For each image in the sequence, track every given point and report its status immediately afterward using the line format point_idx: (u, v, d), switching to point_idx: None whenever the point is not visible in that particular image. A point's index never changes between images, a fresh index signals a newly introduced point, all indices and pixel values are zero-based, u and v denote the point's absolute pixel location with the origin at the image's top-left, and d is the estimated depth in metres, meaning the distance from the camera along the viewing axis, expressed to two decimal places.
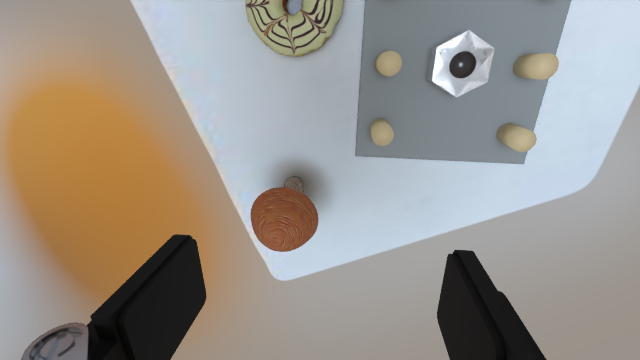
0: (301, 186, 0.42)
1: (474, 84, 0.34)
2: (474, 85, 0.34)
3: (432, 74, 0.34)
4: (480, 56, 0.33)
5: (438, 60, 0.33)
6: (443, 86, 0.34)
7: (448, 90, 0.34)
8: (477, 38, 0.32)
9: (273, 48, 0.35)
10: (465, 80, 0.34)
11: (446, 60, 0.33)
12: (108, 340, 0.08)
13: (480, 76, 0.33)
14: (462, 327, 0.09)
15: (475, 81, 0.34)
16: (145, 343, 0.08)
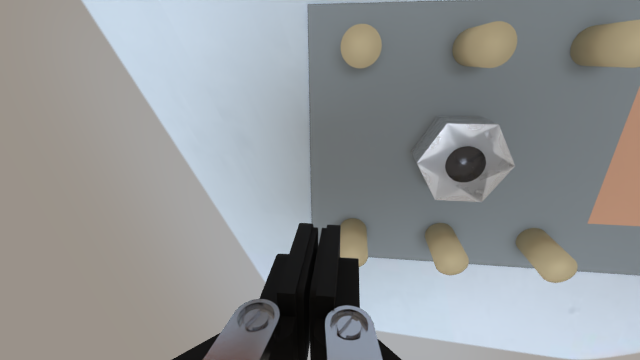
0: None
1: (433, 184, 0.23)
2: (432, 184, 0.23)
3: (455, 123, 0.21)
4: (473, 186, 0.23)
5: (478, 129, 0.21)
6: (435, 142, 0.22)
7: (428, 150, 0.22)
8: (500, 178, 0.22)
9: None
10: (441, 171, 0.23)
11: (475, 141, 0.22)
12: (288, 315, 0.08)
13: (444, 190, 0.23)
14: None
15: (438, 184, 0.23)
16: (306, 320, 0.09)
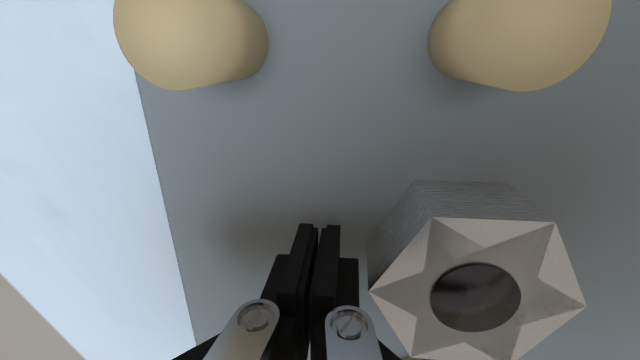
0: None
1: (406, 331, 0.11)
2: (403, 331, 0.11)
3: (451, 214, 0.09)
4: (491, 338, 0.11)
5: (504, 231, 0.09)
6: (407, 253, 0.10)
7: (392, 268, 0.10)
8: (551, 328, 0.10)
9: None
10: (421, 309, 0.10)
11: (497, 253, 0.09)
12: (288, 315, 0.08)
13: (429, 342, 0.11)
14: None
15: (417, 331, 0.11)
16: (306, 320, 0.09)
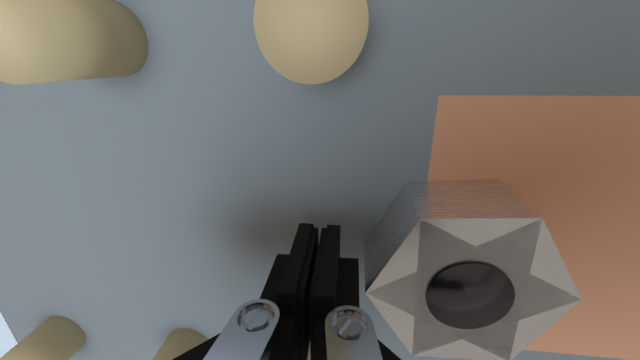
0: None
1: (405, 330, 0.11)
2: (402, 330, 0.11)
3: (440, 214, 0.09)
4: (489, 334, 0.11)
5: (493, 229, 0.09)
6: (399, 255, 0.10)
7: (386, 269, 0.10)
8: (548, 322, 0.10)
9: None
10: (418, 309, 0.11)
11: (488, 251, 0.10)
12: (288, 315, 0.08)
13: (429, 340, 0.11)
14: None
15: (416, 330, 0.11)
16: (306, 320, 0.09)
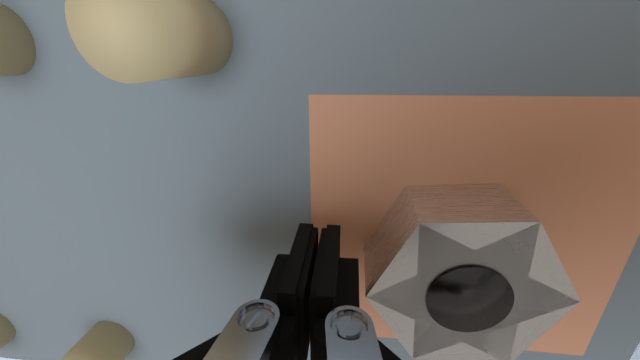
0: None
1: (406, 333, 0.11)
2: (403, 333, 0.11)
3: (439, 219, 0.10)
4: (489, 337, 0.11)
5: (491, 233, 0.09)
6: (399, 259, 0.10)
7: (386, 274, 0.10)
8: (547, 325, 0.10)
9: None
10: (418, 312, 0.11)
11: (487, 254, 0.10)
12: (288, 315, 0.08)
13: (429, 343, 0.11)
14: None
15: (416, 333, 0.11)
16: (306, 320, 0.09)
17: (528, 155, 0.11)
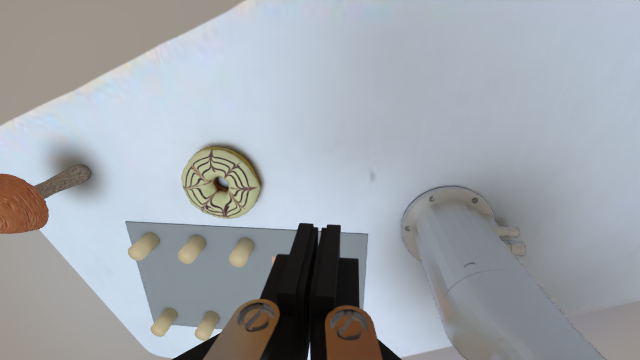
0: (78, 183, 0.45)
1: None
2: None
3: None
4: None
5: None
6: None
7: None
8: None
9: (184, 170, 0.41)
10: None
11: None
12: (288, 315, 0.08)
13: None
14: None
15: None
16: (306, 320, 0.09)
17: None
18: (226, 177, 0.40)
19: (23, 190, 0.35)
